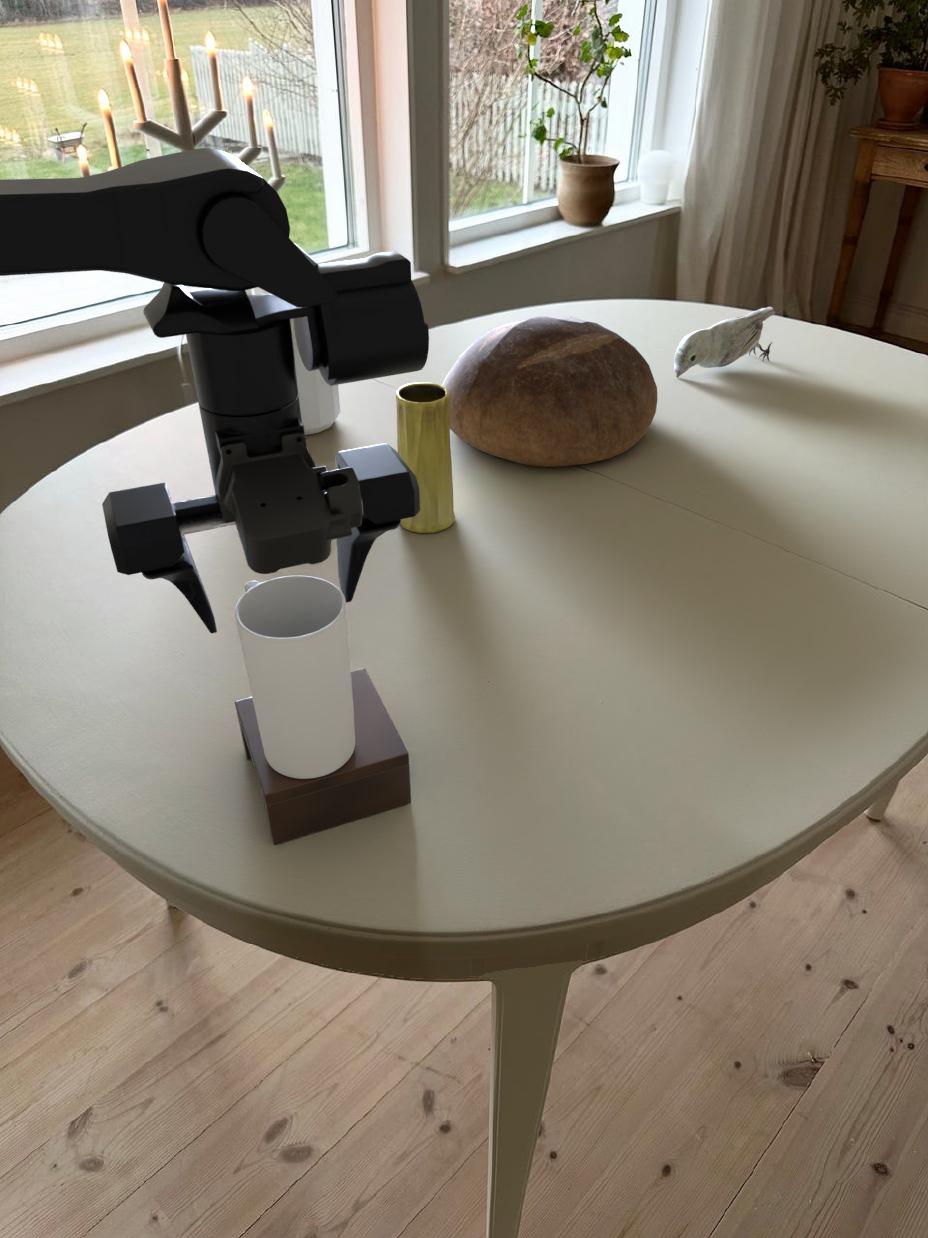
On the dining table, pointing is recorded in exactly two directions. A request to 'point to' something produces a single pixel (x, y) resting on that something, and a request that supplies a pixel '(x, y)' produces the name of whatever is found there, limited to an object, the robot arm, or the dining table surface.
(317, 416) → the jar
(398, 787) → the wooden box
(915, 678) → the dining table surface
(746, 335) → the decorative bird
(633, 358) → the bread
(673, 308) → the dining table surface
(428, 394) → the vase
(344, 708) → the mug
